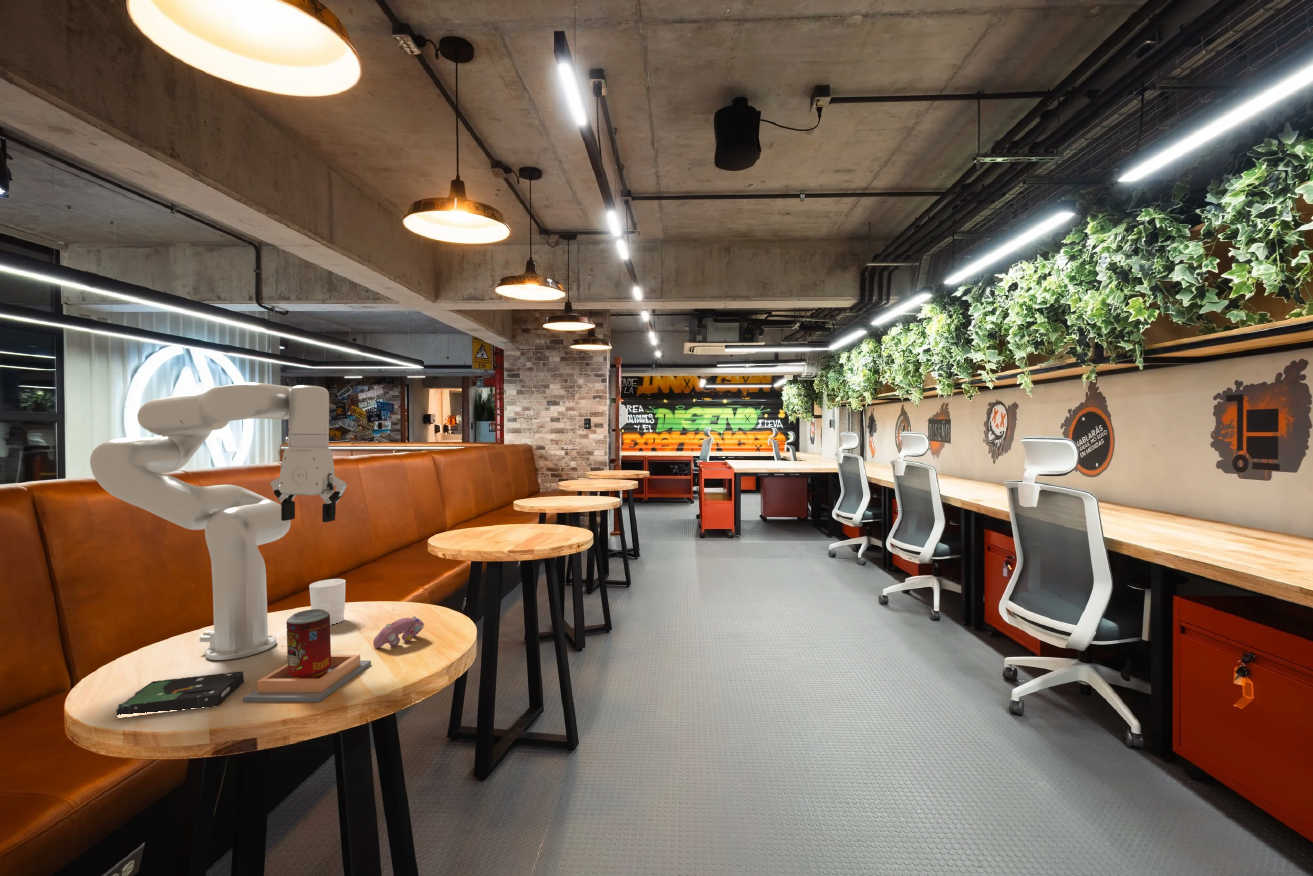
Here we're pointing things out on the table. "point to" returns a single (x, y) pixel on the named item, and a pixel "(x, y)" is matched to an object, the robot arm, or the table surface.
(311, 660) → the soda can
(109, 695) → the table surface
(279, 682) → the cradle jig
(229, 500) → the robot arm
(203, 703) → the disk drive
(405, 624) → the video game controller
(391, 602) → the table surface
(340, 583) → the white cup
